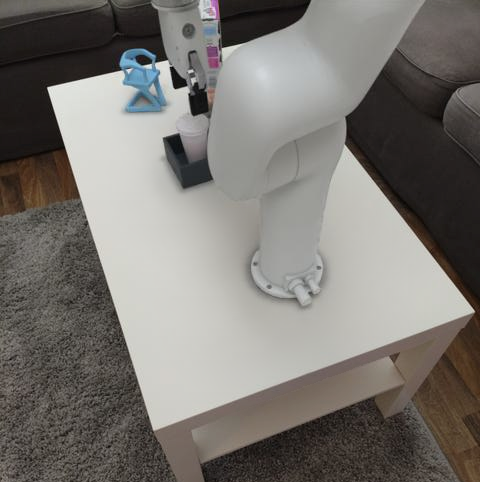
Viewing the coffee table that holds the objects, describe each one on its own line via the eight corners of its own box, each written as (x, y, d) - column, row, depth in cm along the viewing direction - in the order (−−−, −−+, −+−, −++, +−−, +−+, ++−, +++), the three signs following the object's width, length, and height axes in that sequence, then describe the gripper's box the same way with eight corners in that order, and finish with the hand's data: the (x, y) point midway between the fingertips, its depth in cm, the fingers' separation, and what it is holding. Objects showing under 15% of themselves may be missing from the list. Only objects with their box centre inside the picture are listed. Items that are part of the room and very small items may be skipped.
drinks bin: (231, 173, 91) (230, 152, 87) (183, 189, 89) (179, 168, 85) (212, 144, 97) (210, 123, 92) (166, 158, 95) (162, 137, 90)
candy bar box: (225, 93, 107) (219, 18, 93) (204, 95, 107) (196, 20, 93) (223, 68, 113) (218, -6, 99) (203, 70, 113) (196, -4, 99)
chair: (157, 117, 103) (146, 64, 93) (125, 111, 104) (111, 59, 94) (170, 98, 107) (160, 46, 96) (139, 93, 108) (126, 41, 98)
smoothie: (214, 154, 94) (208, 91, 82) (210, 174, 91) (203, 111, 79) (185, 153, 94) (175, 90, 83) (180, 173, 91) (168, 110, 79)
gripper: (219, 5, 62) (228, 118, 76) (178, -35, 71) (193, 72, 85) (169, 18, 61) (187, 130, 75) (134, -25, 70) (156, 83, 84)
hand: (190, 99), depth 80 cm, fingers open, 9 cm apart
